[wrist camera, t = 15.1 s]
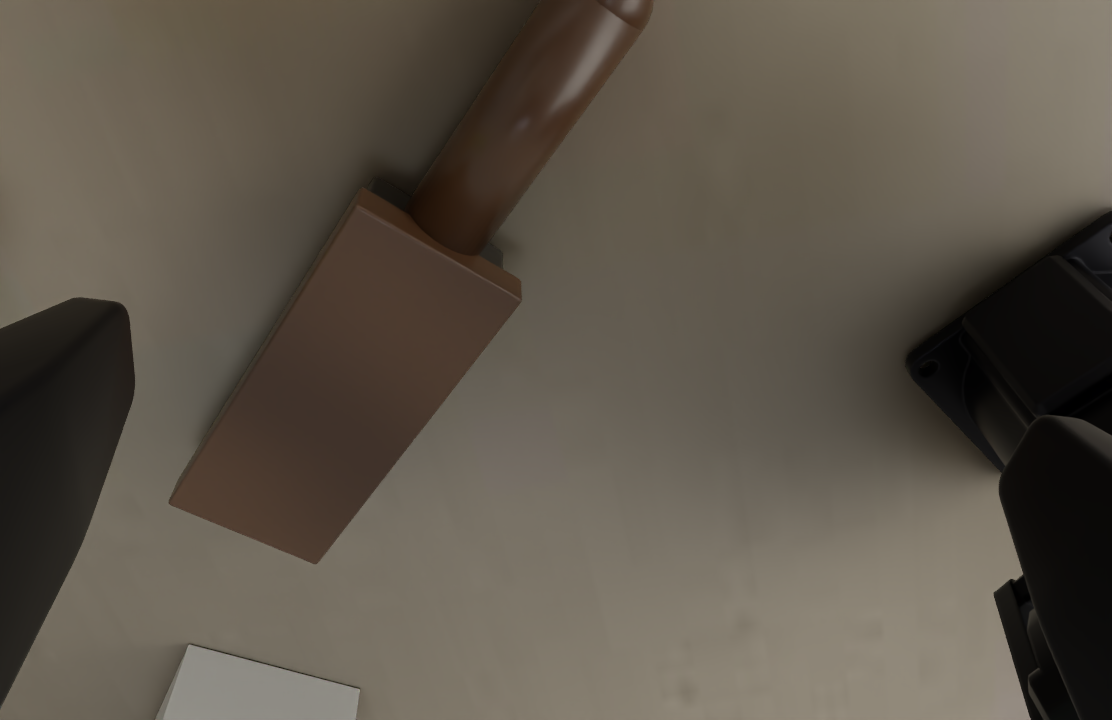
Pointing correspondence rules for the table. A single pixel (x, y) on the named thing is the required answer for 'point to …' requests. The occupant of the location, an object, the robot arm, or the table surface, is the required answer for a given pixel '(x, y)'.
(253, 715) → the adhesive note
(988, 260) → the table surface
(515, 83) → the wooden brush
